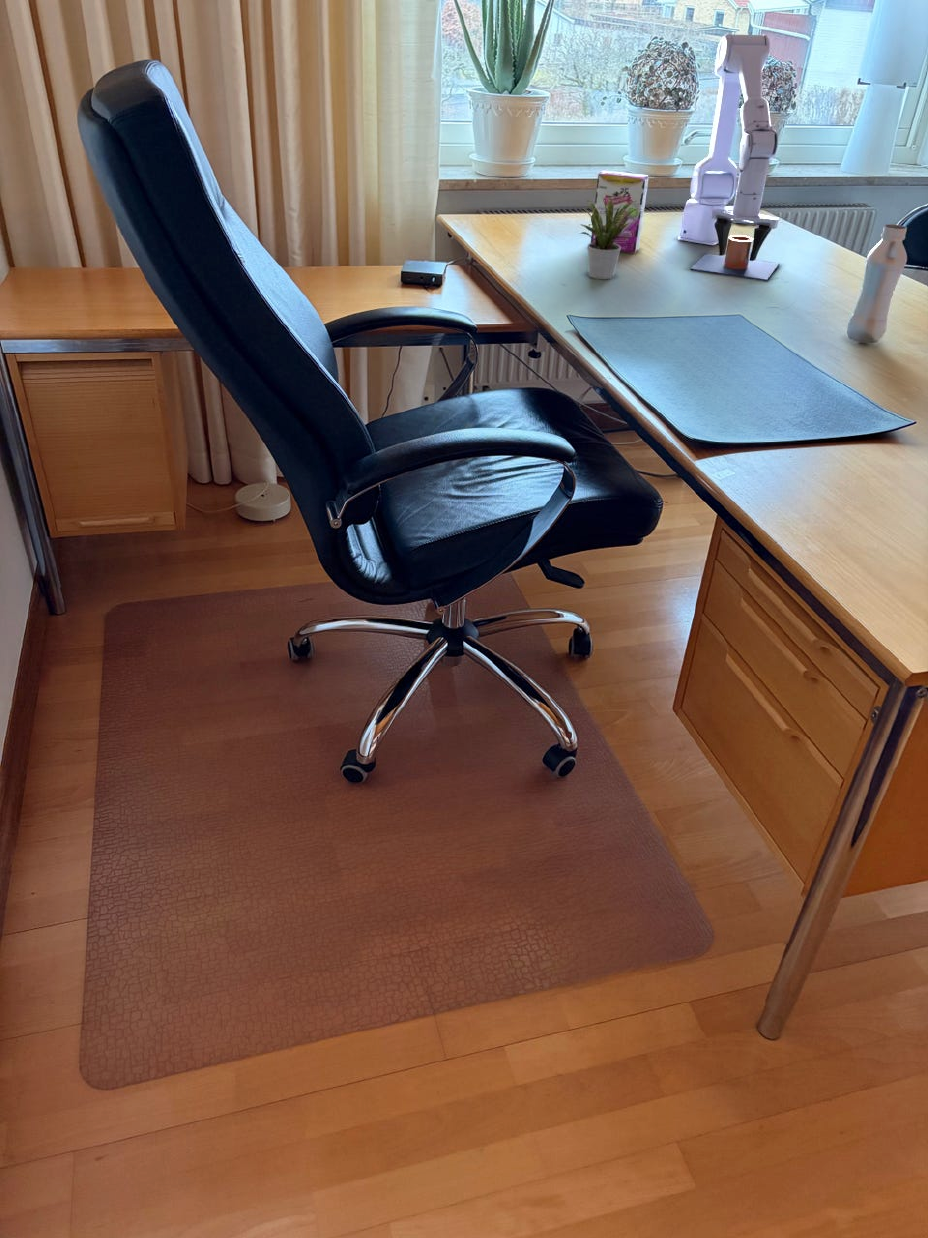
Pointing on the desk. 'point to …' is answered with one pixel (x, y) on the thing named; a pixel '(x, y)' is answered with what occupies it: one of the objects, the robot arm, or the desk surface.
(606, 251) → the house plant
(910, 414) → the desk surface
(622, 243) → the candy bar box
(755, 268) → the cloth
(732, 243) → the cup
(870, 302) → the plastic bottle
